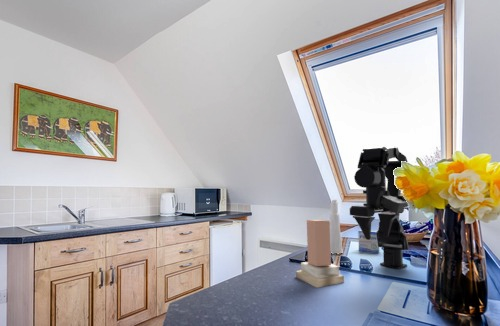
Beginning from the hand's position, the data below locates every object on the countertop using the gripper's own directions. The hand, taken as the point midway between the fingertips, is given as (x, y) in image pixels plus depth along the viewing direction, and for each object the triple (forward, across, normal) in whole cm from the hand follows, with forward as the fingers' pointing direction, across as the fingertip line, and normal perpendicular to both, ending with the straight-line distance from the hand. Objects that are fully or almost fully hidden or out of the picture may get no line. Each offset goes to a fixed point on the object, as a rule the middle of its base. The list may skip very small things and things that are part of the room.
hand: (377, 238), depth 89 cm
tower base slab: (+13, -16, +9) cm, 22 cm away
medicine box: (+12, +28, +23) cm, 38 cm away
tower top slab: (+10, -16, +9) cm, 21 cm away
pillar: (+8, -16, +9) cm, 20 cm away
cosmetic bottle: (+12, +14, +29) cm, 34 cm away
